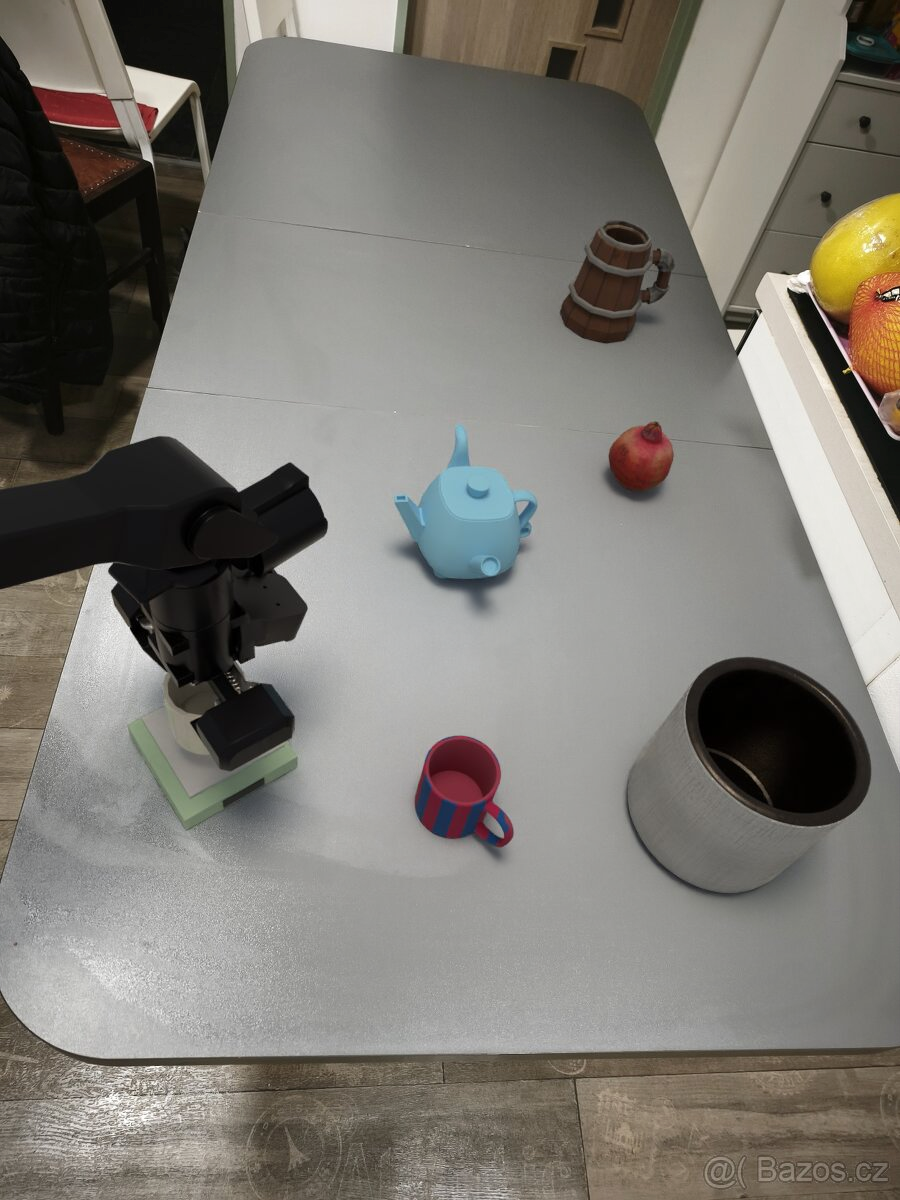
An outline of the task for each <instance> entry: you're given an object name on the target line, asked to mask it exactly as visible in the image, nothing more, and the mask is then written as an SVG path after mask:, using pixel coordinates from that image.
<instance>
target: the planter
mask: <svg viewBox="0 0 900 1200" xmlns="http://www.w3.org/2000/svg"><path fill="white" fill-rule="evenodd" d="M871 782H872V760H871V754H870V751H869V747H868V744H867V741H866V738H865V736H864V734H863V732H862V730H861V728H860V727H859V724H858V723H857V721H856V720H855V718H854V717H853V716H852V714H851V712H850V711H849V710H848V709H847V708H846V706H845V705H844V704H843V703H842V701H840V699H838V698H837V696H835V694H833V693H832V692H831V691H830V690H829V689H828V688H826V686H824V685H823V684H821V683H820V682H819V681H817V680H816V679H814V677H812V676H810V675H808V674H807V673H805V672H802V671H801V670H799V669H797V668H795V667H792V666H791V665H788V664H786V663H783V662H781V661H780V662H779V661H776V660H773V659H770V658H769V659H768V658H764V657H757V656H736V657H730V658H725V659H723V660H720V661H717V662H714V663H713V664H711V665H709V666H707V667H706V668H704V670H702V671H700V673H698V675H697V676H696V677H695V678H694V679H693V681H692V682H691V683H690V685H689V687H688V688H687V689H686V690H685V692H684V693H683V695H682V696H681V698H680V699H679V700H678V702H677V703H676V705H674V707H673V709H672V710H671V711H670V713H668V716H667V717H666V718H665V720H664V721H663V722H662V723H661V725H660V726H659V728H658V729H657V731H655V732H654V734H653V735H652V737H651V739H649V741H648V742H647V743H646V745H645V747H644V748H642V750H641V752H640V753H639V754H638V756H637V758H636V759H635V762H634V764H633V766H632V769H631V771H630V775H629V778H628V782H627V804H628V809H629V814H630V817H631V821H632V823H633V826H634V828H635V830H636V831H637V834H638V836H639V838H640V839H641V841H642V842H643V844H644V845H645V847H646V848H647V850H648V851H649V853H651V855H652V856H653V857H654V858H655V859H656V860H657V861H658V862H659V863H660V864H661V865H662V866H664V868H666V869H667V870H668V871H669V872H671V873H672V874H673V875H675V876H676V877H678V878H680V880H682V881H684V882H686V883H689V884H691V885H693V886H695V887H698V888H700V889H703V890H707V891H711V892H714V893H721V894H737V893H738V894H739V893H744V892H748V891H752V890H755V889H758V888H760V887H762V886H764V885H766V884H768V883H769V882H771V881H772V880H774V879H775V878H776V877H778V876H779V875H781V874H782V872H784V871H785V870H786V869H787V868H788V867H790V866H791V865H793V864H794V863H795V862H796V861H797V860H798V859H800V858H801V857H802V856H803V855H804V854H806V852H808V851H809V850H810V849H811V848H812V847H814V846H815V845H817V843H818V842H820V841H821V840H822V839H824V838H825V837H826V836H827V835H829V834H830V833H831V832H832V831H833V830H835V829H836V828H837V827H839V826H840V825H841V824H842V823H843V822H845V821H846V820H847V819H849V818H850V817H851V816H852V815H853V814H855V813H856V812H857V811H858V809H859V808H861V806H862V805H863V803H864V801H865V800H866V798H867V796H868V794H869V791H870V787H871Z"/></svg>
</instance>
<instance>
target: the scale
mask: <svg viewBox="0 0 900 1200" xmlns="http://www.w3.org/2000/svg"><path fill="white" fill-rule="evenodd" d="M126 727H127V730H128V731H127V732H128V733H129V737H130V738H131V740H132V741H133V744H134V745H135V747H136V749H137V750H138V752H139V753H140V755H141V757H142V758H143V760H144V762H145V763H146V766H147V767H148V769H149V770H150V773H152V775H153V777H154V778H155V781H156V782H157V784H158V786H159V787H160V789H161V791H162V792H163V794H164V795H165V797H166V799H167V801H168V802H169V803H170V807H172V809H173V811H174V812H175V814H176V816H177V818H178V819H179V821H180V822H181V824H182V826H183V828H184V829H185V831H187V830H190V829H192V828H193V827H194V826H197V825H198V824H200V823H202V822H203V821H205V820H207V819H209V818H211V817H213V816H214V815H216V814H217V813H219V812H221V811H222V810H224V809H226V808H228V807H230V806H231V805H233V804H234V803H236V802H239V801H240V800H242V799H243V798H245V797H247V796H249V795H250V794H252V793H254V792H255V791H257V790H259V789H261V788H263V787H264V786H266V785H268V784H270V783H271V782H273V781H274V780H277V779H278V778H280V777H282V776H283V775H285V774H287V773H288V772H291V771H292V770H294V769H295V768H297V767H298V761H299V759H298V758H299V756H298V754H297V753H296V751H295V750H294V748H293V747H292V746H291V745H290V743H289V741H288V740H287V741H285V742H284V743H282V744H280V745H278V746H276V747H275V748H273V749H271V750H269V751H267V752H265V753H264V754H262V755H260V756H258V757H256V758H255V759H253V760H251V761H249V762H247V763H246V764H244V765H242V766H240V767H238V768H236V769H235V770H233V771H231V772H230V771H225V770H220V769H219V767H218V766H217V764H216V763H215V761H214V759H213V758H212V756H211V755H201V754H196V753H192V752H190V751H187V750H186V749H184V748H183V747H181V746H180V745H179V744H178V743H177V742H176V740H175V739H174V737H173V734H172V732H171V729H170V725H169V720H168V715H167V711H166V706H165V705H164V706H162V707H160V708H158V709H156V710H154V711H152V712H150V713H148V714H146V715H143V716H141V717H140V718H137V719H136V720H133V721H131V722H129V723H128V724H126Z"/></svg>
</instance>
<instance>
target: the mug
mask: <svg viewBox="0 0 900 1200" xmlns="http://www.w3.org/2000/svg"><path fill="white" fill-rule="evenodd" d="M583 247H584V248H583V250H584V252H585V254H586V255H585V258H584V260H583V262H582V265H581V267H580V269H579V271H578V274H577V275H576V276H575V277H574V278H573V279H572V280H571V281H570V282H569V284H568V286H567V287H568V291H569V293H568V295H567V296H566V297H565V298H564V299H563V301H562V304H561V307H560V311H559V313H560V316H561V319H562V321H563V323H564V326H566V327H567V328H568V329H570V330H571V331H572V332H574V333H576V334H577V335H578V336H580V337H582V338H584V339H588V340H593V341H596V342H600V343H603V344H607V343H608V344H609V343H615V342H621V341H625V340H626V339H627V338H628V336H629V335H630V334H631V333H632V331H633V330H634V327H635V324H636V322H637V311H638V310H639V309H640V307H641V306H642V304H643V303H644V304H645V303H646V304H647V305H652V304H654V303H657V302H658V301H660V300H661V299H662V298H663V297H664V296H665V295H666V294H667V292H669V290H670V288H671V286H670V284H669V283H670V280H671V279H670V278H671V274H672V271H674V269H675V266H676V264H675V259H674V258H673V256H672V254H671V253H670V252H669V251H668V250H667V249H665V248H662V247H658V248H656V249H652V247H653V244H652V237H651V236H650V234H649V232H648V230H647V229H645V228H644V227H642V226H640V225H639V224H637V223H635V222H633V221H628V220H624V219H620V218H618V219H608V220H605V221H604V222H603V223H602V224H600V226H599V228H597V230H596V231H595V234H594V236H593V237H592V238H590V239H589V241H588V242H587V243H586V244H584V246H583ZM653 265H654V266H655V267H656V268H657V270H658V272H657V275H656V280H654V282H653V284H652V286H651V287H650V286H649V287H646V288H645V289H642V285H643V281H644V278H645V274H646V273H647V272H648V270H649V269H650V268H651V267H652V266H653Z"/></svg>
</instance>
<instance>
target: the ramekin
mask: <svg viewBox="0 0 900 1200" xmlns="http://www.w3.org/2000/svg"><path fill="white" fill-rule="evenodd" d="M233 663H234V664H235V666H236V667H237V669H238V670H239V671H240V673H241V674H242V676H243V677H244V679H245V680H246V677H245V672H244V671H243V669H242V668H241V666H240V665H239V663H238V661H235V662H233ZM226 677H228V676H226ZM227 679H228V678H227ZM229 681H230V680H229ZM232 686H233V684H232ZM235 688H236V687H234V689H235ZM238 692H239V694H240V691H238ZM162 693H163V694H162V696H163V700H164V706H166V711H167V715H168V720H169V725H170V729H171V732H172V734H173V737H174V739H175V740H176V742H177V743H178V744H179V745H180V746H181V747H183V748H184V749H186V750H187V751H190V752H192V753H196V754H201V755H210V753H209V752H208V750H207V749H206V747H205V746H204V744H203V743H202V741H201V740H200V738H199V737H198V735H197V733H196V732H195V730H194V729H193V727H192V726H191V724H190V722H191V721H193V720H195V719H197V718H199V717H201V716H202V715H203V714H204V713H205V712H206V711H207V710H208V709H210V708H212V707H214V706H215V704H214V701H216V700H218V699H219V698H218V697H217V695H216V694H215V692H214V691H213V689H212V688H211V686H210V685H209V683H208V682H202V683H201V684H199V685H197V686H192V685H191V684H190V683H189V684H187V685H185V686H183V687H181V688H178V687H177V685H176V684H175V682H174V680H173V679H172V677H171V676H170V674H169V673H168V672H166V674H165V677H164V679H163V682H162Z"/></svg>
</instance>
